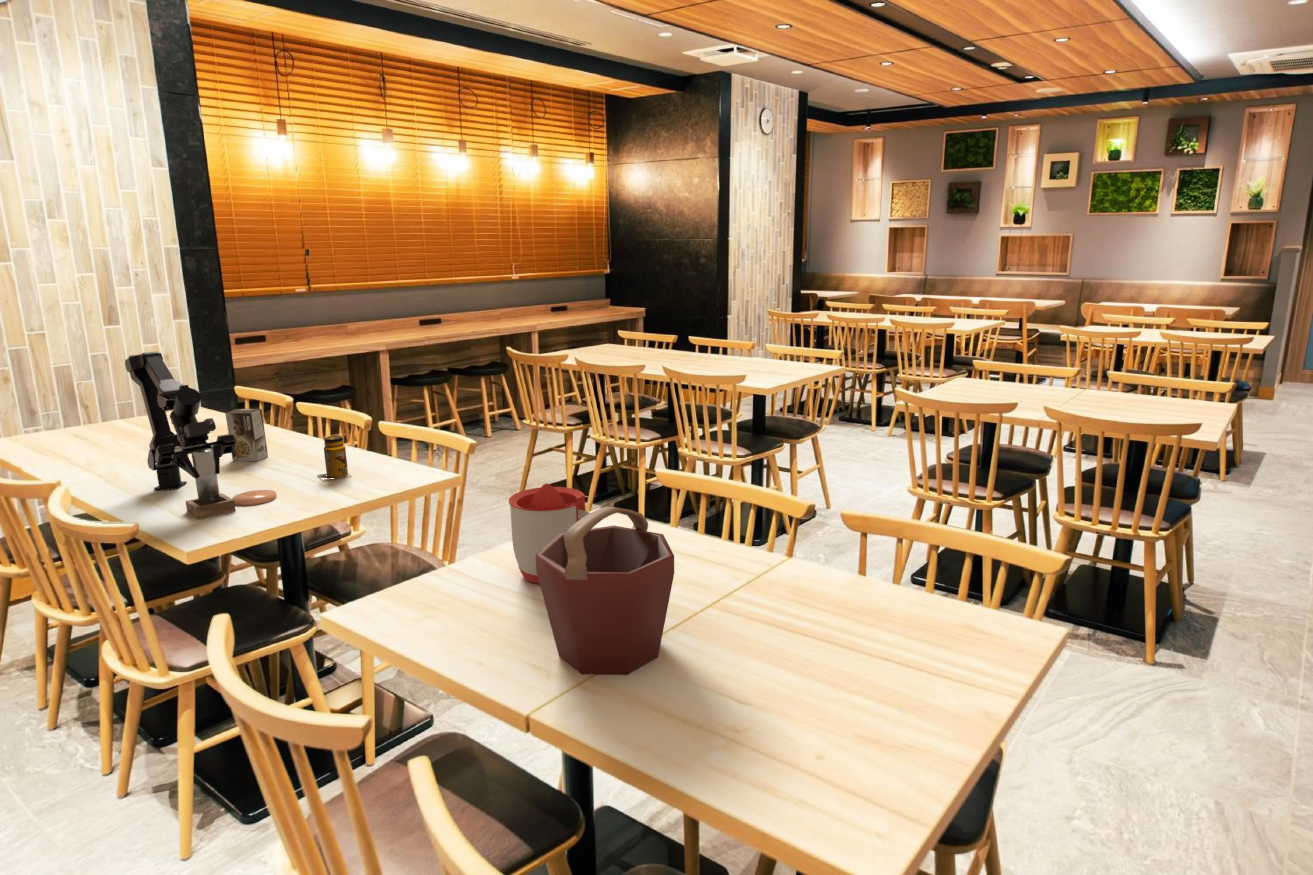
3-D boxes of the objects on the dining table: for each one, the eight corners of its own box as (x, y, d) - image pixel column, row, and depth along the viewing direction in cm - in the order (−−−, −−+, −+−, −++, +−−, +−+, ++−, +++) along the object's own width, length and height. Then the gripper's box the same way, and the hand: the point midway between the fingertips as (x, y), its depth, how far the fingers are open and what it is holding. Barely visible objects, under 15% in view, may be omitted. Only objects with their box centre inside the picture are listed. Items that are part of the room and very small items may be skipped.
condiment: (352, 476, 248) (347, 438, 245) (322, 481, 244) (317, 442, 241) (346, 471, 254) (341, 433, 251) (317, 476, 250) (312, 437, 247)
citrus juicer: (585, 592, 165) (581, 496, 160) (502, 587, 168) (496, 493, 163) (603, 562, 180) (600, 474, 175) (527, 558, 183) (522, 471, 178)
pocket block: (187, 511, 218) (185, 501, 217) (223, 503, 224) (221, 493, 224) (198, 519, 212) (197, 508, 211) (235, 510, 218) (234, 500, 217)
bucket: (600, 703, 126) (594, 549, 120) (508, 657, 140) (499, 517, 134) (701, 644, 143) (701, 506, 137) (610, 608, 158) (606, 482, 152)
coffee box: (269, 456, 273) (262, 408, 269) (258, 461, 267) (251, 412, 263) (243, 456, 274) (236, 408, 270) (231, 461, 268) (224, 412, 264)
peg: (203, 496, 220) (196, 448, 216) (223, 495, 220) (216, 448, 217) (195, 502, 215) (187, 453, 212) (215, 501, 215) (208, 453, 212)
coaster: (242, 493, 233) (241, 490, 233) (282, 492, 234) (282, 489, 233) (225, 506, 222) (225, 502, 222) (267, 504, 223) (267, 501, 223)
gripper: (150, 415, 208) (171, 465, 203) (229, 404, 221) (250, 451, 216) (146, 440, 215) (166, 489, 210) (222, 428, 228) (243, 474, 223)
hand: (207, 475), depth 215 cm, fingers closed on peg, 5 cm apart
